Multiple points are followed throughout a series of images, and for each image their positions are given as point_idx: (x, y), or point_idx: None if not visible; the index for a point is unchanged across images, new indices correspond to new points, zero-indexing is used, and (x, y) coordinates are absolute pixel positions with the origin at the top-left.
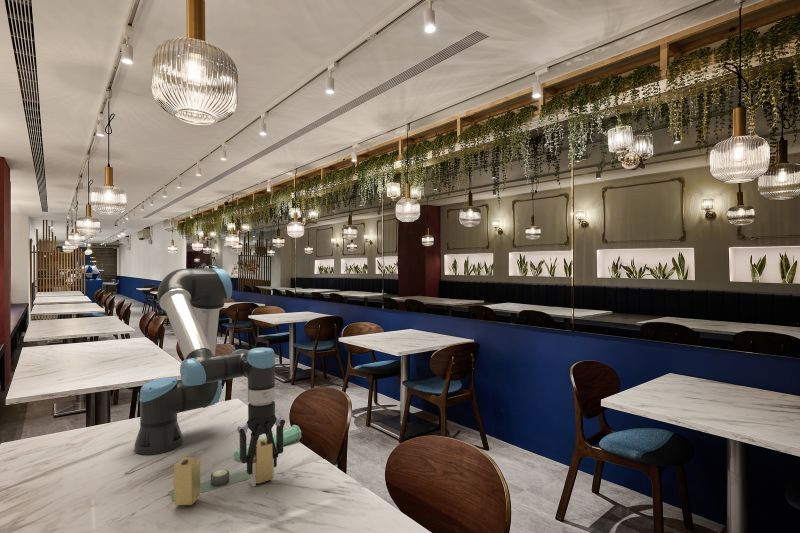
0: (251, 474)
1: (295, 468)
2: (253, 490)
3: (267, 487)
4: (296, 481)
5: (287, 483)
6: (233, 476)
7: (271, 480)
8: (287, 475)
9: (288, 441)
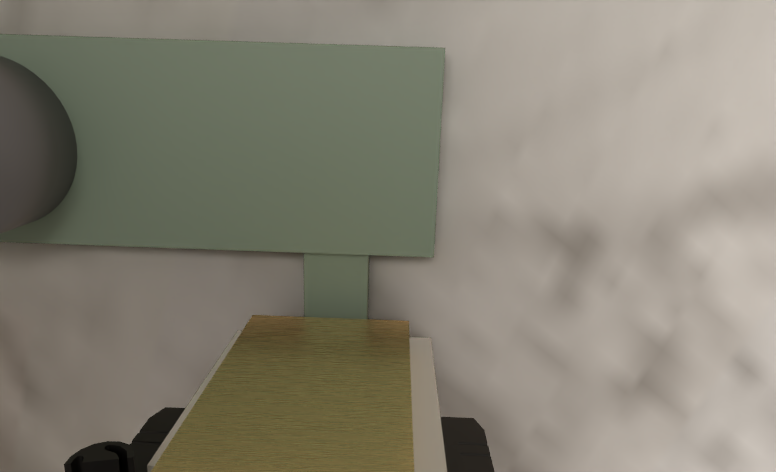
0: None
1: (719, 244)
2: None
3: None
4: (589, 459)
5: (517, 445)
6: (128, 109)
7: None
8: (587, 324)
9: None
